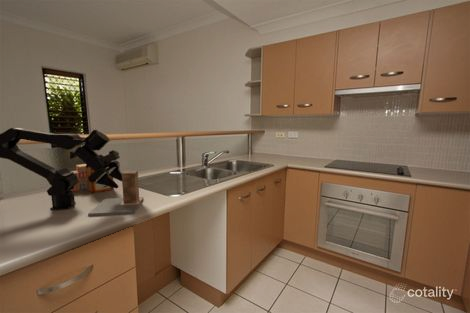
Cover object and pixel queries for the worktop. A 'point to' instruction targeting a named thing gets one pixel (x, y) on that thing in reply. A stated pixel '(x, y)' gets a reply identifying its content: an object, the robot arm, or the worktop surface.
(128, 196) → the walnut post
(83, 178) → the orange red carton
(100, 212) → the baseplate
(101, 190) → the baking soda box
